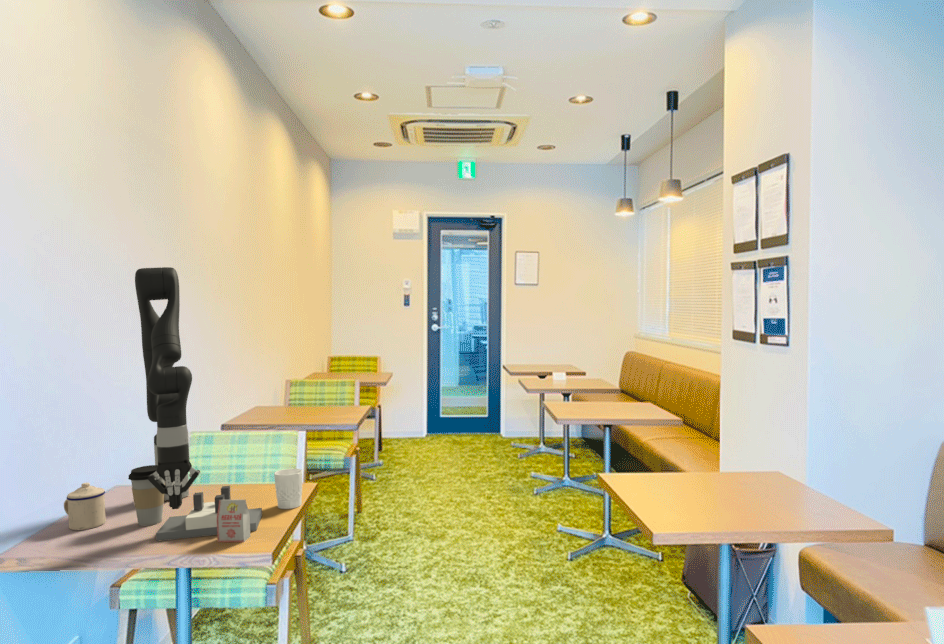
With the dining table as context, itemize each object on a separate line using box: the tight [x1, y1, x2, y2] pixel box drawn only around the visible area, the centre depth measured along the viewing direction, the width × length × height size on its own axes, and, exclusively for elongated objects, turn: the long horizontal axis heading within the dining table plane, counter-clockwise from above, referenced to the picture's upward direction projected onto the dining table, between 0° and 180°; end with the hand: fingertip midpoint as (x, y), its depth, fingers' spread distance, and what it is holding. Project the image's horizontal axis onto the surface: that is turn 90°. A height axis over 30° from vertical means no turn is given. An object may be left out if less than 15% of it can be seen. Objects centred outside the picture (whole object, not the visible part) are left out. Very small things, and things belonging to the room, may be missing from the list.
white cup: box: [274, 468, 303, 510], centre depth 183 cm, size 8×8×10 cm
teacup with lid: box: [63, 482, 107, 531], centre depth 173 cm, size 12×9×12 cm
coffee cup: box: [127, 464, 165, 527], centre depth 173 cm, size 9×9×15 cm
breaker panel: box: [155, 485, 263, 542], centre depth 167 cm, size 13×24×9 cm, turn 102°
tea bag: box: [217, 499, 251, 543], centre depth 157 cm, size 4×7×10 cm, turn 85°
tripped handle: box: [192, 491, 205, 510], centre depth 166 cm, size 2×2×4 cm
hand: (175, 508), depth 165 cm, fingers closed
